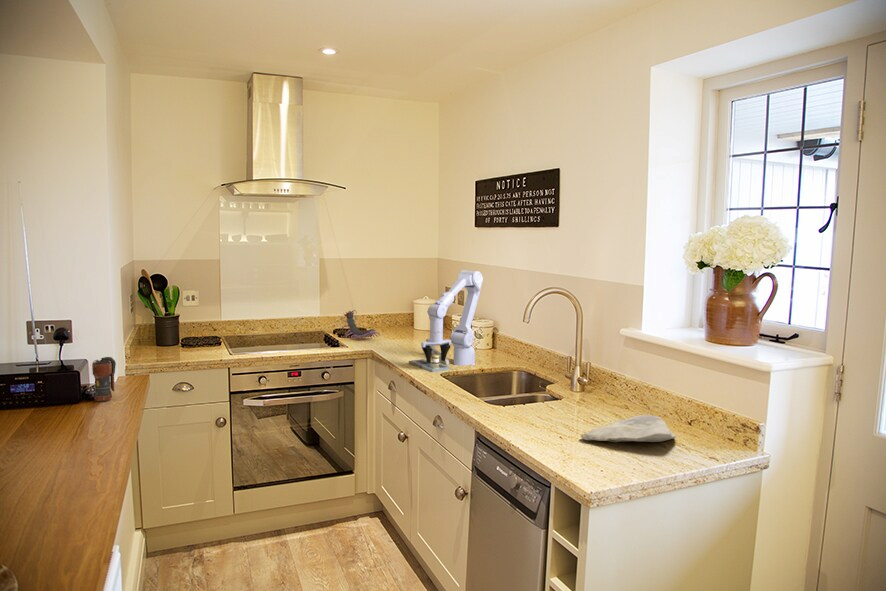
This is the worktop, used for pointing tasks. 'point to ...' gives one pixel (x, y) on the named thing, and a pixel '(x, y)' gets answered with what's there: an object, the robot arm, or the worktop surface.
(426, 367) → the parts tray
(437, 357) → the cylinder
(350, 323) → the toy
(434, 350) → the wrench
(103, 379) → the grenade
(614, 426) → the decorative stone
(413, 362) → the fuse block
